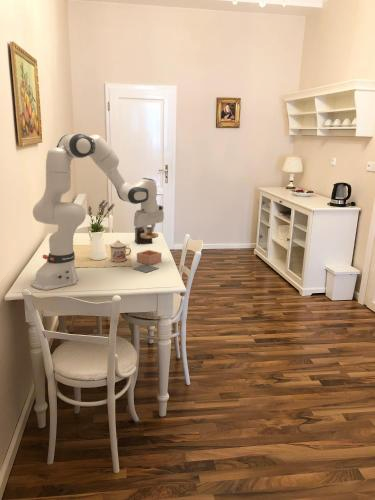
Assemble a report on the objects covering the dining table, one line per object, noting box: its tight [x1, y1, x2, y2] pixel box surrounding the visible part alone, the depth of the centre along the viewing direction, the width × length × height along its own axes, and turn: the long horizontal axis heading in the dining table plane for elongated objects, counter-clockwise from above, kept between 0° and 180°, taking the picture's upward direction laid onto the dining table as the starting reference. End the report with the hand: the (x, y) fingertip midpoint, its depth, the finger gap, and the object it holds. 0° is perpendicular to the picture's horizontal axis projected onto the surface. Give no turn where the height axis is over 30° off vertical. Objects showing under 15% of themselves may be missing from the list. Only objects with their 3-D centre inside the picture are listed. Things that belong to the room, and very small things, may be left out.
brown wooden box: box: [134, 227, 153, 245], centre depth 270 cm, size 16×11×18 cm
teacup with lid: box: [110, 239, 132, 263], centre depth 234 cm, size 12×9×12 cm
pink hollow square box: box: [136, 249, 162, 266], centre depth 233 cm, size 10×10×5 cm
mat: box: [132, 264, 160, 274], centre depth 221 cm, size 10×10×1 cm
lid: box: [140, 226, 159, 239], centre depth 225 cm, size 10×10×5 cm
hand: (149, 232), depth 225 cm, fingers closed on lid, 3 cm apart
